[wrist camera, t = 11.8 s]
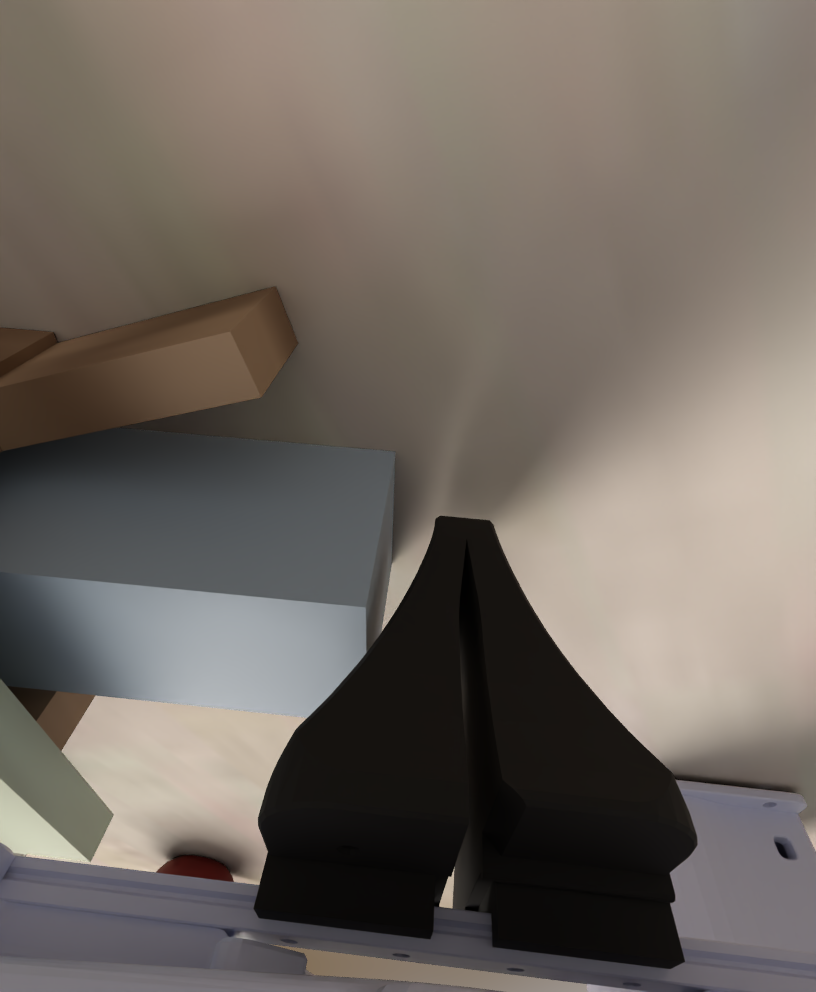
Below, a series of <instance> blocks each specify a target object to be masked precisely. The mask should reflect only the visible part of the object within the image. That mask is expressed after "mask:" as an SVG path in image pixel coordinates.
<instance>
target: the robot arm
mask: <svg viewBox="0 0 816 992" xmlns="http://www.w3.org/2000/svg"><path fill="white" fill-rule="evenodd" d="M806 807H807V804H806V801H805V799H804V797H803V796H802V795H800V794H798V793H791V792H782V791H773V790H764V789H755V788H746V787H737V786H728V785H719V784H710V783H701V782H692V781H683V780H675V778H674V776H673V773H672V772H671V771H670V770H669V769H667V768H666V767H665V766H664V765H663V764H662V763H661V762H660V761H659V760H658V759H657V758H656V757H655V756H654V755H653V754H652V753H651V752H650V751H649V750H647V749H646V748H645V747H644V746H643V745H642V744H641V743H640V742H639V741H638V740H637V739H636V738H635V737H634V736H633V735H632V734H631V733H630V732H629V731H628V730H627V729H626V728H625V727H624V726H623V724H622V723H621V722H620V721H619V720H618V719H617V718H616V717H615V716H614V715H613V714H612V713H611V712H610V711H609V710H608V709H607V707H606V706H605V705H604V704H603V703H602V701H601V700H600V699H599V698H598V697H597V696H596V694H595V693H594V692H593V691H592V690H591V689H590V687H589V686H588V685H587V684H586V683H585V681H584V680H583V679H582V678H581V677H580V676H579V674H578V673H577V672H576V671H575V669H574V668H573V667H572V665H571V664H570V663H569V661H568V660H567V659H566V657H565V656H564V655H563V654H562V652H561V651H560V649H559V648H558V647H557V645H556V644H555V642H554V641H553V639H552V638H551V637H550V635H549V634H548V632H547V631H546V629H545V628H544V626H543V624H542V623H541V621H540V620H539V618H538V616H537V615H536V613H535V611H534V610H533V608H532V606H531V605H530V603H529V601H528V600H527V598H526V596H525V594H524V592H523V591H522V589H521V587H520V585H519V583H518V581H517V579H516V577H515V575H514V573H513V571H512V569H511V567H510V565H509V563H508V561H507V559H506V556H505V554H504V552H503V549H502V547H501V545H500V542H499V540H498V537H497V534H496V531H495V528H494V525H493V524H492V522H491V521H490V520H480V519H469V518H458V517H448V516H439V517H438V518H436V519H435V527H434V531H433V535H432V538H431V541H430V544H429V547H428V549H427V552H426V555H425V557H424V559H423V561H422V563H421V565H420V568H419V570H418V572H417V574H416V576H415V578H414V580H413V582H412V584H411V586H410V587H409V589H408V591H407V593H406V595H405V596H404V598H403V600H402V602H401V603H400V605H399V607H398V608H397V610H396V611H395V613H394V615H393V616H392V618H391V619H390V621H389V622H388V624H387V625H386V627H385V628H384V630H383V631H382V632H381V634H380V635H379V637H378V638H377V639H376V641H375V642H374V643H373V645H372V646H371V647H370V649H369V650H368V651H367V653H366V654H365V655H364V656H363V658H362V659H361V660H360V661H359V663H358V664H357V665H356V666H355V667H354V669H353V670H352V671H351V672H350V673H349V674H348V675H347V677H346V678H345V679H344V680H343V681H342V682H341V683H340V685H339V686H338V687H337V688H336V689H335V690H334V691H333V693H332V694H331V695H330V696H329V697H328V698H327V699H326V700H325V701H324V702H323V703H322V704H321V705H320V706H319V707H318V708H317V709H316V710H315V711H314V712H313V713H312V714H311V715H310V716H309V717H308V718H307V719H306V720H305V721H304V722H303V723H302V724H301V725H300V726H299V727H298V728H297V729H296V730H295V732H294V734H293V735H292V737H291V739H290V740H289V742H288V744H287V746H286V747H285V749H284V751H283V753H282V755H281V757H280V758H279V760H278V762H277V764H276V767H275V769H274V771H273V773H272V776H271V778H270V781H269V783H268V786H267V789H266V792H265V796H264V799H263V803H262V806H261V810H260V813H259V817H258V826H259V829H260V832H261V834H262V837H263V840H264V842H265V845H266V848H267V850H268V854H267V858H266V862H265V866H264V869H263V873H262V877H261V881H260V885H254V884H245V883H237V882H229V881H221V880H212V879H204V878H196V877H188V876H180V875H171V874H163V873H155V872H147V871H138V870H130V869H122V868H114V867H106V866H97V865H89V864H81V863H73V862H64V861H56V860H48V859H40V858H31V857H23V856H15V855H14V854H13V852H12V850H11V849H10V848H8V847H7V846H6V845H4V844H2V843H1V842H0V992H502V991H494V990H486V989H479V988H471V987H461V986H451V985H441V984H431V983H419V982H407V981H394V980H380V979H364V978H349V977H333V976H317V975H313V974H312V973H310V972H309V971H307V970H306V964H307V958H306V956H305V954H304V953H300V952H296V951H293V950H288V949H285V948H281V947H277V946H273V945H282V946H289V947H297V948H305V949H313V950H321V951H329V952H337V953H345V954H353V955H360V956H368V957H376V958H384V959H392V960H400V961H408V962H416V963H424V964H432V965H440V966H448V967H456V968H464V969H472V970H480V971H488V972H496V973H504V974H511V975H520V976H527V977H535V978H543V979H551V980H560V981H568V982H576V983H583V984H587V991H588V992H816V851H815V849H814V847H813V845H812V843H811V841H810V838H809V836H808V834H807V832H806V830H805V828H804V826H803V824H802V821H801V819H800V817H799V815H798V814H799V813H800V812H802V811H803V810H804V809H805V808H806ZM454 866H455V871H454V892H453V909H451V908H443V907H439V903H440V900H441V897H442V894H443V891H444V888H445V885H446V882H447V879H448V876H449V877H451V875H452V872H453V869H454ZM270 944H273V945H270Z"/></svg>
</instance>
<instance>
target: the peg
mask: <svg viewBox="0 0 816 992" xmlns="http://www.w3.org/2000/svg"><path fill="white" fill-rule="evenodd" d="M395 452H396V451H384V450H372V449H361V448H349V447H337V446H326V445H314V444H302V443H290V442H279V441H267V440H255V439H243V438H232V437H220V436H208V435H196V434H185V433H173V432H161V431H150V430H138V429H126V428H111V429H107V430H102V431H97V432H92V433H87V434H83V435H78V436H73V437H68V438H63V439H58V440H54V441H49V442H44V443H39V444H34V445H29V446H25V447H20V448H15V449H10V450H5V451H2V452H1V453H0V679H1V680H2V681H3V682H4V683H5V685H6V686H13V687H22V688H32V689H41V690H50V691H60V692H69V693H79V694H88V695H97V696H107V697H116V698H126V699H135V700H145V701H154V702H163V703H173V704H182V705H192V706H201V707H210V708H220V709H229V710H239V711H248V712H258V713H267V714H276V715H286V716H295V717H305V718H308V717H309V716H310V715H311V714H312V713H313V712H314V711H315V710H316V709H317V708H318V707H319V706H320V705H321V704H322V703H323V702H324V701H325V700H326V699H327V698H328V697H329V696H330V695H331V694H332V693H333V691H334V690H335V689H336V688H337V687H338V686H339V685H340V683H341V682H342V681H343V680H344V679H345V678H346V677H347V675H348V674H349V673H350V672H351V671H352V670H353V669H354V667H355V666H356V665H357V664H358V663H359V661H360V660H361V659H362V658H363V656H364V655H365V654H366V653H367V651H368V650H369V649H370V647H371V646H372V645H373V643H374V642H375V641H376V639H377V638H378V637H379V635H380V634H381V631H382V624H383V617H384V611H385V604H386V598H387V591H388V585H389V578H390V571H391V565H392V537H393V509H394V480H395Z"/></svg>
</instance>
